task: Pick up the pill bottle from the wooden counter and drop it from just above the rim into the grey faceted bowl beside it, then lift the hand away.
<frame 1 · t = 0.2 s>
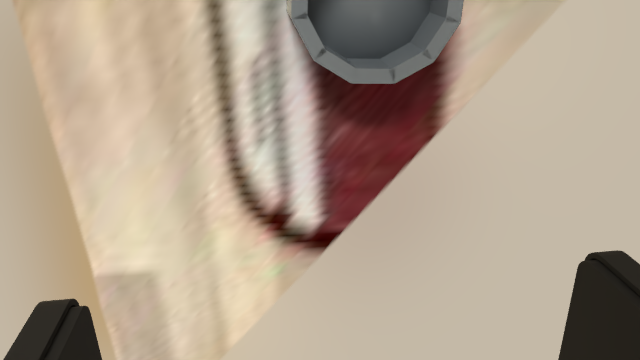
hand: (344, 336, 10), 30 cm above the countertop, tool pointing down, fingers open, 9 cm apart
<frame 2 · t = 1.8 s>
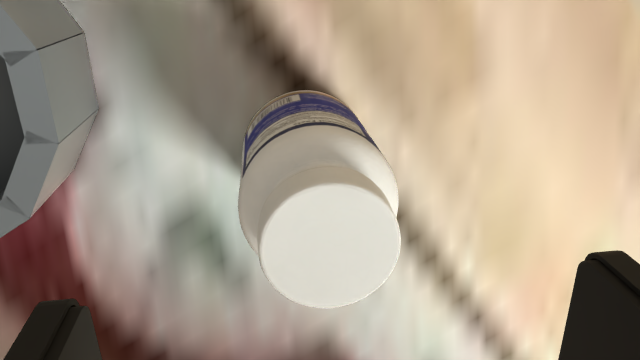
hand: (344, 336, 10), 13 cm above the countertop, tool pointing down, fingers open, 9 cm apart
pill bottle: (303, 146, 23), on the countertop
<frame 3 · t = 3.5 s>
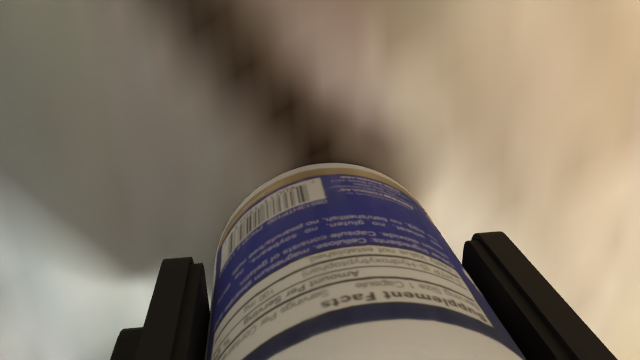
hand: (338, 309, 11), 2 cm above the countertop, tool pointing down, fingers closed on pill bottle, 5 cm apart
pill bottle: (325, 253, 13), on the countertop, touching gripper
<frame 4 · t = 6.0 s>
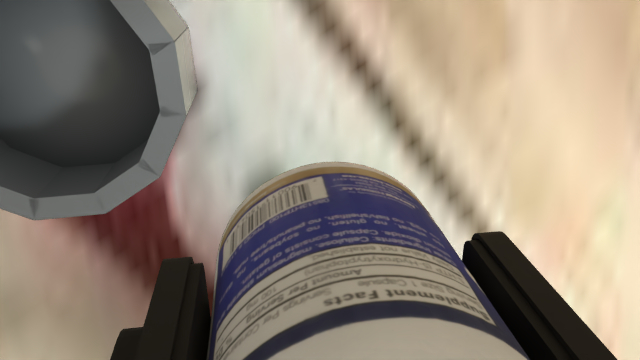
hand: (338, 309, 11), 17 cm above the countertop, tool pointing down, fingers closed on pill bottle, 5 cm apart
pill bottle: (326, 252, 13), point 14 cm above the countertop, touching gripper
grey faceted bowl: (72, 67, 24), on the countertop
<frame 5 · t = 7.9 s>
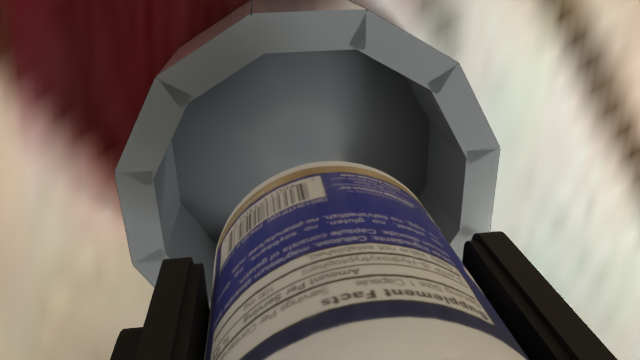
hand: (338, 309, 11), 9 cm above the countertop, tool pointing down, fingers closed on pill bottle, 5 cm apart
pill bottle: (325, 251, 13), point 7 cm above the countertop, touching gripper
grey faceted bowl: (302, 153, 19), on the countertop
when the fingers open (6 cm above the countertop, at t = 9.0 s): pill bottle drops 3 cm, resting on grey faceted bowl.
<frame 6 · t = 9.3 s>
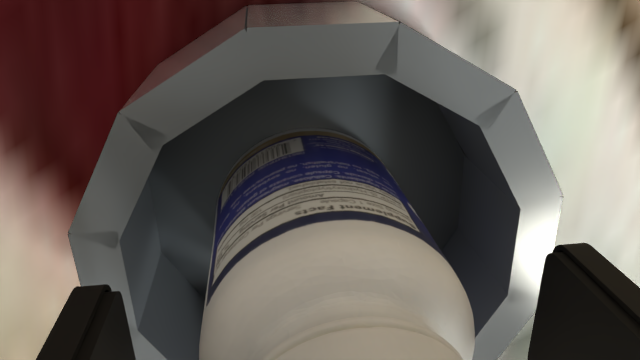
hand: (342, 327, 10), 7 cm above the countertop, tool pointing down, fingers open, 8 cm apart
pill bottle: (306, 205, 15), point 1 cm above the countertop, touching grey faceted bowl
grey faceted bowl: (309, 189, 16), on the countertop
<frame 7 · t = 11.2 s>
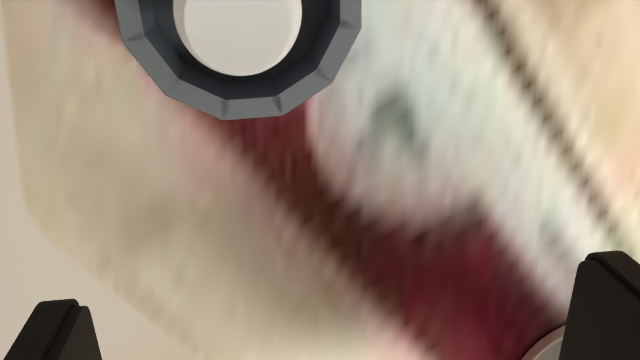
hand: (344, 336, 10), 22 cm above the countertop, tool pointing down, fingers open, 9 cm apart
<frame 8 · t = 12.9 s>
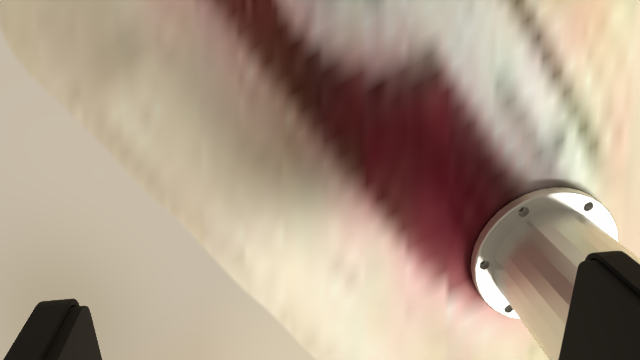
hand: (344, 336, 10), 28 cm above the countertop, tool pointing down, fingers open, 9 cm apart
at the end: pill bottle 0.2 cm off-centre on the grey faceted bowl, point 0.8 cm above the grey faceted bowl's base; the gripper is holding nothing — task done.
